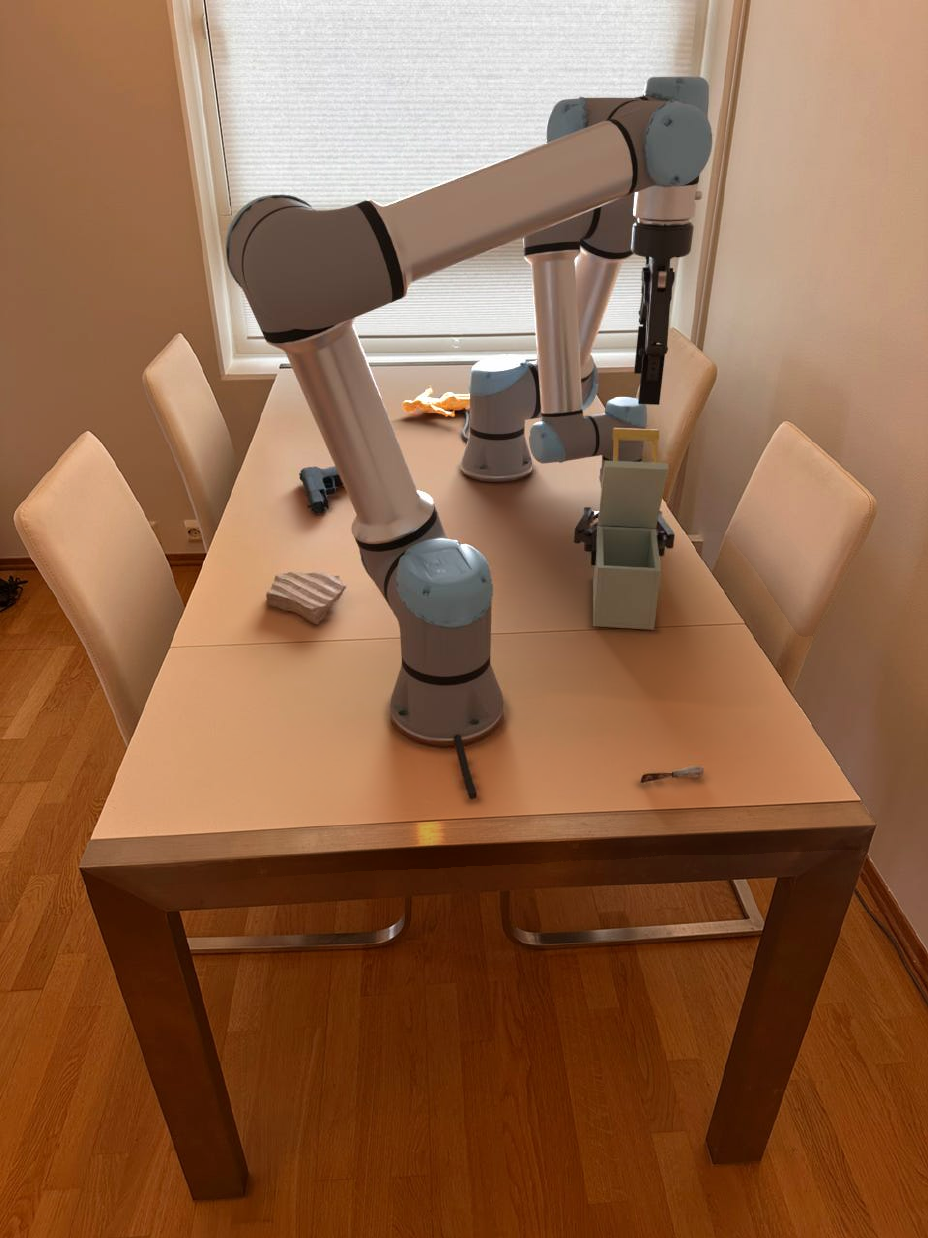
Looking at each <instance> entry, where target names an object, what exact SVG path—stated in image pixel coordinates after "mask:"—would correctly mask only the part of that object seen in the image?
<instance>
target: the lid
mask: <svg viewBox="0 0 928 1238" xmlns="http://www.w3.org/2000/svg"><path fill="white" fill-rule="evenodd" d="M659 439H660V429H655V428H654V429H653V428H646V429H630V428H613V440H614V446H613V461H605V463H604V471H603V480H602V489H601V488H600V499H599V508H598V511H599V515H598V518H597V522H598V525H604V526H625V527H646V528H656V525H657V520H658V516H659V511H661V506H662V502H663V497H664V493H665V488H666V484H667V479H668V474H669V469H670V468H669V466H670V464H669V463H668V462H659V461H658V459H659V457H658V456H659V453H658V452H659V451H658V450H659V449H658V447H659V446H658V445H659V444H658V443H659ZM619 440H624V441H644V442H650V443H652V459H651V460H652V462H651V461H642V462H628V461H618V441H619Z"/></svg>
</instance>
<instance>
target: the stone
mask: <svg viewBox="0 0 928 1238" xmlns="http://www.w3.org/2000/svg"><path fill="white" fill-rule="evenodd" d="M346 589H347V585H346V583H345V582H343V580H341V579H340V575H332V574H329V573H326V572H320V571H318V572H315V571H314V572H308V573H306V572H300V571H289V572H287V573H281V572H279V573H277V574H275V576H274V579H273V581H272V584H271V587H270V590H268V591H267V592H266V594H265V597H266V600H265V604H266V605H267V606H268V605H269V606H271V607H275V608H278V609H281V610H282V611H289V612H292V613H296V614H297V615H299V616H301V617H302V618H304V619H305V620H307V621H309V622H311V623H312V624H315V625H319V624H320V622H321V621H323V620H324V619H325V618H326V615H327V612H328V611H329V609H330V607H332V606H333V605H334V603H335V602H336V601H338V600H339V599H340V598H341V596H342V595H343V593H344V591H345V590H346Z"/></svg>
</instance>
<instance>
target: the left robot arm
mask: <svg viewBox="0 0 928 1238" xmlns="http://www.w3.org/2000/svg"><path fill="white" fill-rule="evenodd" d="M709 102H710V85H709V83H708V81H707V80H706V79H705V78H704V77H702V76H651V77H649V78H648V79H647V80H646V82H645V85H644V90H643V93H642V96H635V97H584V96H580V97H577V98H565V99H561V100H559V101H558V102H557V103H555V104H554V106H553V107H552V109H551V111H550V113H549V116H548V119H547V123H546V128H545V129H546V130H545V143H543V144H541V145H538V146H535V147H532V148H530V149H527V150H525V151H522V152H519V153H517V154H515V155H511V156H509V157H507V158H504V159H501V160H499V161H496V162H493V163H491V164H489V165H485V166H484V167H480V168H478V169H475V170H473V171H471V172H468V173H464V174H462V175H460V176H457V177H455V178H452V179H449V180H447V181H444V182H442V183H439V184H437V185H434V186H432V187H431V186H430V187H429V188H426V189H423V190H421V191H419V192H416V193H415V192H414V193H413V194H410V195H408V196H406V197H403V198H400V199H397V200H395V201H393V202H392V201H391V202H390V203H387V204H383V205H382V204H380V203H379V202H376V201H374V200H373V199H370V198H369V199H366V200H362V201H361V202H358V203H355V204H352V205H349V206H345V207H341V208H335V209H325V210H323V209H322V210H320V209H319V210H318V209H315V208H314V206H312V205H311V204H310V203H308V202H307V201H305V200H304V199H301V198H299V197H297V196H293V195H290V194H268V195H267V194H266V195H263V196H259V197H256V198H255V199H252V200H251V201H249V202H247V203H246V204H245V205H244V206H242V207H241V209H240V210H239V211H238V212H236V214H235V215H234V217H233V218H232V220H231V222H230V225H229V226H228V230H227V233H226V238H225V258H226V264H227V267H228V270H229V272H230V274H231V277H232V279H233V280H234V281H235V282H236V284H237V285H238V286H239V287H240V288H241V290H242V291H243V294H244V295H245V298H246V300H247V303H248V305H249V307H250V309H251V311H252V313H253V316H254V318H255V321H256V322H257V324H258V327H259V329H260V331H261V333H262V336H263V337H264V340H265V343H266V344H268V345H270V346H271V347H275V348H277V349H279V350H282V351H283V352H285V355H286V357H287V360H288V361H289V364H290V367H291V369H292V371H293V373H294V376H295V378H296V380H297V382H298V384H299V387H300V389H301V391H302V395H303V396H304V398H305V401H306V403H307V405H308V407H309V410H310V412H311V415H312V416H313V419H314V421H315V424H316V425H317V428H318V430H319V432H320V434H321V437H322V439H323V441H324V443H325V445H326V448H327V450H328V453H329V455H330V457H331V460H332V462H333V464H334V466H336V469H337V471H338V473H339V475H340V478H341V480H342V482H343V485H344V486H343V487H344V489H345V491H346V493H347V496H348V498H349V501H350V503H351V505H352V507H353V510H354V512H355V514H356V515H355V516H354V519H353V521H352V523H351V529H350V530H351V533H352V536H353V538H354V540H355V542H356V545H357V546H358V550H359V551H358V552H359V555H360V561H361V563H362V566H363V568H364V570H365V572H366V573H367V575H368V576H369V578H370V579H371V580H372V582H374V584H375V586H376V588H377V589H378V590H379V592H380V594H381V595H382V597H383V598H384V600H385V602H386V603H387V604H388V606H389V608H390V610H391V611H392V613H393V614H394V616H395V618H396V619H397V622H398V627H399V633H400V634H399V635H400V655H401V667H400V669H399V672H398V675H397V678H396V681H395V684H394V687H393V690H392V693H391V696H390V704H389V705H390V718H391V721H392V724H393V725H394V727H395V728H396V729H397V731H398V732H399V733H400V734H402V735H403V736H404V737H406V738H407V739H409V740H411V741H413V742H415V743H417V744H420V745H421V744H422V745H425V746H430V747H437V748H454V747H455V749H456V754H457V759H458V763H459V767H460V770H461V774H462V778H463V782H464V785H465V788H466V792H467V795H468V798H469V800H475V799H477V797H478V793H477V790H476V787H475V784H474V781H473V777H472V775H471V770H470V767H469V763H468V759H467V754H466V751H465V747H464V746H467V745H471V744H473V743H476V742H480V741H481V740H483V739H485V738H486V737H488V736H489V735H491V734H492V733H493V732H494V731H495V730H496V729H498V727H499V726H500V724H501V722H502V720H503V717H504V697H503V693H502V690H501V687H500V685H499V682H498V679H497V677H496V674H495V672H494V668H493V666H492V664H491V654H492V653H491V651H492V649H491V648H492V647H491V645H492V611H493V610H492V608H493V607H492V605H493V596H494V585H493V578H492V573H491V567H490V565H489V563H488V561H487V559H486V557H485V556H484V555H483V554H482V553H481V551H479V550H478V549H476V548H475V547H473V546H472V545H470V544H467V543H463V544H460V541H459V540H457V539H449V538H448V536H447V534H446V532H445V528H444V527H443V523H442V521H441V518H440V515H439V512H438V510H437V508H436V505H435V503H434V500H433V498H432V497H431V496H430V495H429V494H428V493H426V492H424V491H420V490H418V489H417V487H416V484H415V482H414V479H413V477H412V474H411V472H410V469H409V466H408V464H407V461H406V458H405V456H404V453H403V450H402V448H401V446H400V442H399V440H398V437H397V434H396V432H395V428H394V427H393V424H392V421H391V419H390V417H389V413H388V411H387V408H386V406H385V403H384V401H383V399H382V395H381V392H380V390H379V387H378V384H377V383H376V379H375V377H374V375H373V371H372V370H371V367H370V365H369V361H368V359H367V356H366V353H365V350H364V348H363V346H362V343H361V340H360V338H359V335H358V332H357V330H356V327H355V325H354V322H355V320H356V318H358V317H360V316H363V315H365V314H368V313H369V312H373V311H375V310H377V309H380V308H382V307H385V306H386V305H389V304H392V303H394V302H397V301H400V300H401V299H404V298H406V296H407V294H408V293H409V290H410V287H411V285H412V284H413V283H415V282H417V281H420V280H423V279H426V278H427V277H430V276H433V275H435V274H437V273H440V272H442V271H444V270H447V269H449V268H452V267H454V266H457V265H460V264H462V263H465V262H466V261H470V260H472V259H474V258H476V257H480V256H482V255H484V254H486V253H489V252H492V251H494V250H496V249H499V248H501V247H503V246H506V245H509V244H511V243H514V242H516V241H519V240H521V239H523V238H524V237H526V236H529V235H531V234H534V233H536V232H539V231H541V230H543V229H546V228H548V227H551V226H553V225H556V224H558V223H561V222H563V221H566V220H568V219H571V218H573V217H576V216H578V215H581V214H583V213H585V212H588V211H590V210H593V209H595V208H598V207H600V206H603V205H605V204H608V203H610V202H613V201H615V200H618V199H620V198H623V197H625V196H627V195H630V194H633V193H635V201H634V212H633V215H634V216H635V217H636V218H638V221H636V222H635V224H633V229H632V241H631V251H632V253H634V254H633V255H636V256H639V257H643V258H645V266H644V267H642V268H641V279H640V280H641V289H640V290H641V292H640V293H641V298H640V305H639V310H638V315H639V316H638V317H639V318H638V323H639V325H638V327H637V329H638V330H637V337H636V338H637V339H636V347H635V349H636V350H635V360H634V368H633V369H634V370H633V374H638V375H639V374H640V379H639V388H638V389H639V390H638V398H637V399H638V404H645V405H654V406H655V405H656V406H659V405H660V402H661V394H662V385H663V377H664V376H663V375H664V366H665V360H666V359H665V357H666V355H667V353H668V351H669V347H668V341H669V339H668V338H669V325H670V311H671V304H672V299H673V286H674V284H675V278H676V271H674V268H673V267H671V260H672V259H674V258H683V257H687V256H688V255H689V254H690V253H691V251H692V243H693V237H694V236H693V235H694V228H695V226H694V225H693V223H692V222H690V220H692V219H693V218H694V217H695V214H696V208H697V204H696V201H699V200H702V199H703V192H702V191H701V190H698V189H699V182H700V175H701V173H702V172H703V171H704V169H705V168H706V166H707V164H708V162H709V159H710V157H711V153H712V150H713V149H712V148H713V133H712V126H711V123H710V121H709V118H708V117H709V116H708V115H709V105H710V104H709Z"/></svg>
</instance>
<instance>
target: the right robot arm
mask: <svg viewBox="0 0 928 1238" xmlns="http://www.w3.org/2000/svg"><path fill="white" fill-rule="evenodd" d="M634 201H635V193H633V194H630V195H627V196H625V197H623V198H620V199H618V200H615V201H613V202H610V203H608V204H605V205H603V206H600V207H598V208H595V209H593V210H590V211H588V212H585V213H583V214H581V215H578V216H576V217H573V218H571V219H568V220H566V221H563V222H561V223H558V224H556V225H553V226H551V227H548V228H546V229H543V230H541V231H539V232H536V233H534V234H531V235H529V236H526V237H524V238H522V245H523V259H524V260H525V261H526V262H527V263H528V264H529V265H530V274H531V287H532V288H531V289H532V301H533V317H534V326H535V327H534V329H535V331H534V332H535V343H536V357H537V358H536V360H533V361H527V360H526V359H525V357H523V356H521V355H517V354H508V355H506V354H499V355H494V356H489V357H486V358H484V359H481V360H480V361H478V362H476V363H475V364H474V365H473V366H472V368H471V370H470V374H469V385H468V394H469V396H470V406H469V412H468V410H467V408H464V409H462V410H461V411H463V413H464V414H465V423H464V426H463V429H462V431H461V435H462V437H463V439H465V440H466V441H467V442H466V444H465V448H464V451H463V454H462V457H461V462H460V464H461V465H460V466H461V471H462V474H464V475H465V476H466V477H469V478H471V479H473V480H475V481H476V480H477V481H479V482H480V481H481V482H487V483H507V482H508V483H509V482H514V481H518V480H521V479H524V478H525V477H527V476H528V475H530V474H531V472H532V470H533V458H534V459H535V460H536V462H538V463H540V464H542V465H543V464H551V463H561V464H562V463H564V462H570V461H574V460H579V459H580V460H581V459H585V458H591V457H599V456H601V466H600V469H599V477H598V478H599V482H600V490H601V489H602V480H603V471H604V463H605V461H613V446H614V440H613V428H630V429H647V428H648V424H647V423H648V422H647V421H648V408H647V404H638V399H639V398H635V397H631V396H617V397H614V398H612V399H609V400H607V403H606V406H605V409H604V412H602V413H595V414H588V415H584V411H585V410H586V409H589V408H590V406H591V405H593V403H594V401H595V399H596V396H597V394H598V390H599V384H598V381H599V378H600V377H599V370H598V368H597V365H596V362H595V361H594V358H593V355H592V354H591V353H592V351H593V348H594V345H595V342H596V339H597V337H598V334H599V331H600V329H601V326H602V322H603V319H604V317H605V314H606V311H607V308H608V305H609V302H610V299H611V296H612V293H613V291H614V289H615V285H616V283H617V279H618V276H619V274H620V272H621V271H620V270H621V268H622V265H623V262H624V260H628V259H629V258H631V257H633V255H635V254H634V253H632V251H631V241H632V229H633V224H635V222H636V221H638V218H636V217H635V216H634V215H633V212H634ZM443 395H444V394H441V395H440V398H441V397H442V396H443ZM534 419H541V420H540V421H538V422H535V423H533V424H532V426H531V427H530V429H529V436H528V442H527V439H526V434H525V430H526V428H525V427H526V421H527V420H534ZM468 427H469V436H467V435H466V431H467V429H468ZM528 443H529V444H528ZM644 444H645V441H624V440H619V441H618V461H628V462H643V452H644V451H643V450H644ZM530 452H531V453H530ZM532 457H533V458H532ZM598 515H599V510H593V509H592V508H591V507H590V506H585V507H584V508H583V514H582V516H581V518H580V519H579V521H578V522H577V524H576V526H575V527H574V532H573V543H574V544H577V545H578V544H581V543H583V551H584V552H585V553H590V566H592V567H594V566H595V564H596V552H597V544H596V539H597V527H598V526H604V525H598V521H596V520H598ZM594 521H596V522H595V523H594ZM605 527H625V526H605ZM626 528H646V527H626ZM647 529H655V530H656V537H657V544H658V551H659V559H660V558H661V557H664V556H665V551H666V548H667V549H671V550H672V549H673V548H674V545H675V536H676V534H675V532H674V531H673V530H672V528H671V527H670V525H669V524H668V523H667V521H666V520H665V519H664V517H663V511H662V510H660V511H659V516H658V520H657V525H656V528H647Z"/></svg>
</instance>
